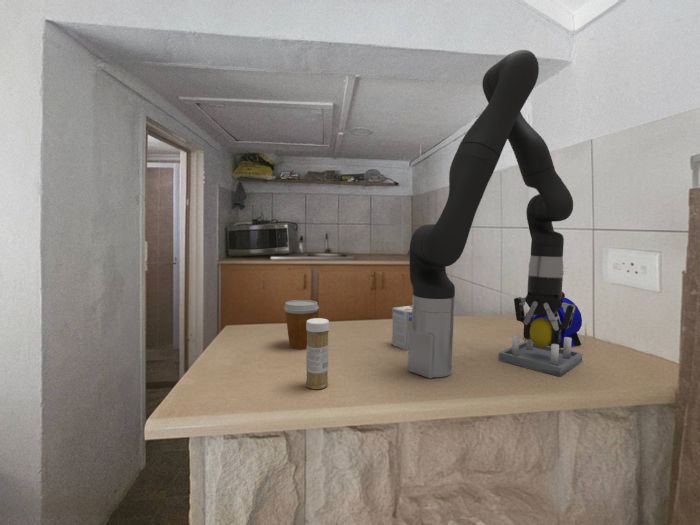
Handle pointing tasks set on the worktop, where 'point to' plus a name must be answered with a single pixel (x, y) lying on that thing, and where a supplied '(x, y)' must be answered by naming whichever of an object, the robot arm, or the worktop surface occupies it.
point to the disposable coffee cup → (299, 321)
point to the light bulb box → (401, 326)
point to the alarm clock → (573, 328)
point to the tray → (542, 356)
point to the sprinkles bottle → (317, 353)
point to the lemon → (541, 332)
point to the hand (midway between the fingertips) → (541, 341)
